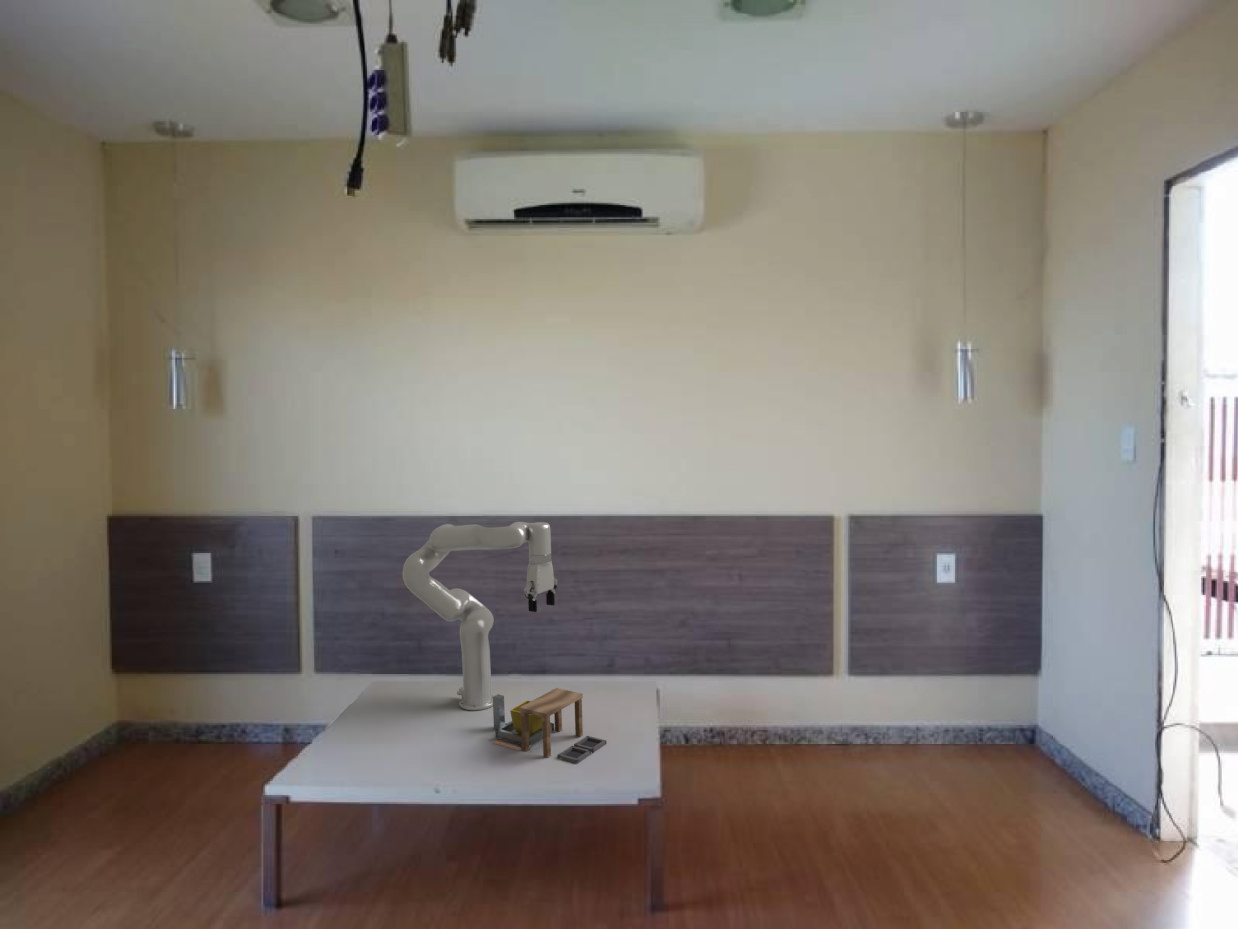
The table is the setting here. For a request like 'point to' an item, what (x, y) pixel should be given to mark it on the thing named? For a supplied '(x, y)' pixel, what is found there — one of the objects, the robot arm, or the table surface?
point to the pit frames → (582, 749)
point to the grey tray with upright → (510, 725)
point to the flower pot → (534, 720)
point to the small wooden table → (545, 709)
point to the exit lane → (508, 744)
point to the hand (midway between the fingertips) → (541, 608)
